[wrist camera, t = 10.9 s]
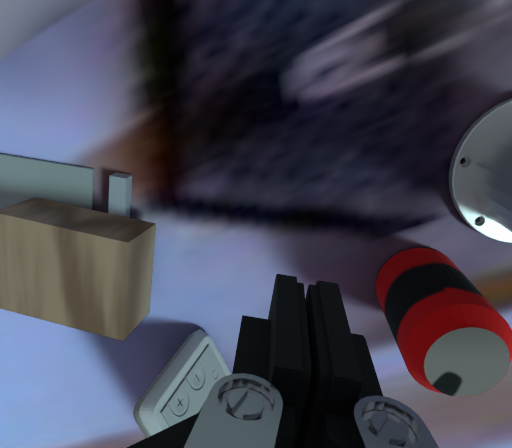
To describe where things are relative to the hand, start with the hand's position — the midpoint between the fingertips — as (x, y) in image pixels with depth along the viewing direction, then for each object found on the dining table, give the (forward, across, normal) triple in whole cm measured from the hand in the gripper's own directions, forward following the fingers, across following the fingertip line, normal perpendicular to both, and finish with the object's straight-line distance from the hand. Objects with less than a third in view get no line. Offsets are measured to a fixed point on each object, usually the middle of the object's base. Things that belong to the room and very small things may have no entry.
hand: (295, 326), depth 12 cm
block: (+22, +11, +12) cm, 28 cm away
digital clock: (+27, +3, +26) cm, 38 cm away
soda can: (+27, -14, +10) cm, 32 cm away
